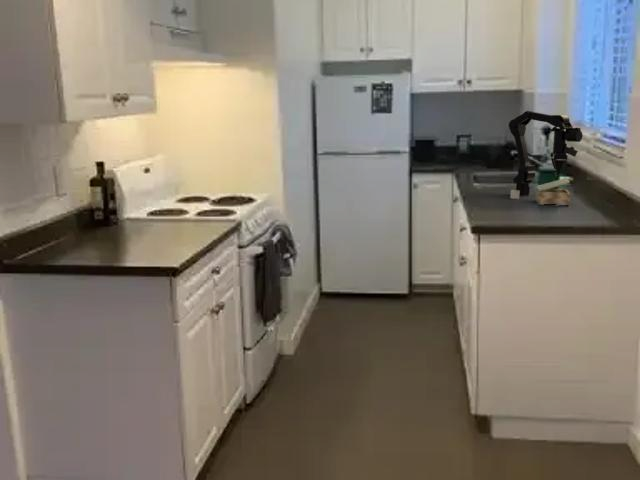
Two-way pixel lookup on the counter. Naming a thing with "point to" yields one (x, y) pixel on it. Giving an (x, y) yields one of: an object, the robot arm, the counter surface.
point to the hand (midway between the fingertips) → (557, 173)
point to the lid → (553, 184)
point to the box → (553, 196)
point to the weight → (514, 194)
